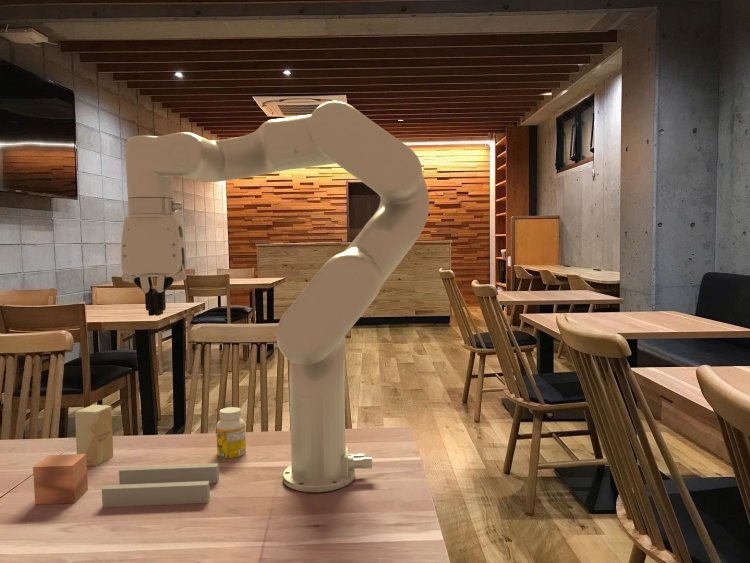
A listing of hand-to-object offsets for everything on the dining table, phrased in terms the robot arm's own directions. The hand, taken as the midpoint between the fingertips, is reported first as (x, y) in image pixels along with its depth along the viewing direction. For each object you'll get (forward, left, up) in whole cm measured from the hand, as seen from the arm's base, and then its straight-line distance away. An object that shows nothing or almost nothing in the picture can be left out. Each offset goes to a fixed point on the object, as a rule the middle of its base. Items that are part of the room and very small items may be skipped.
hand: (156, 314), depth 104 cm
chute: (+1, +10, -29) cm, 31 cm away
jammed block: (+13, +10, -28) cm, 32 cm away
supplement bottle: (-11, -7, -29) cm, 32 cm away
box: (+14, -6, -29) cm, 33 cm away
